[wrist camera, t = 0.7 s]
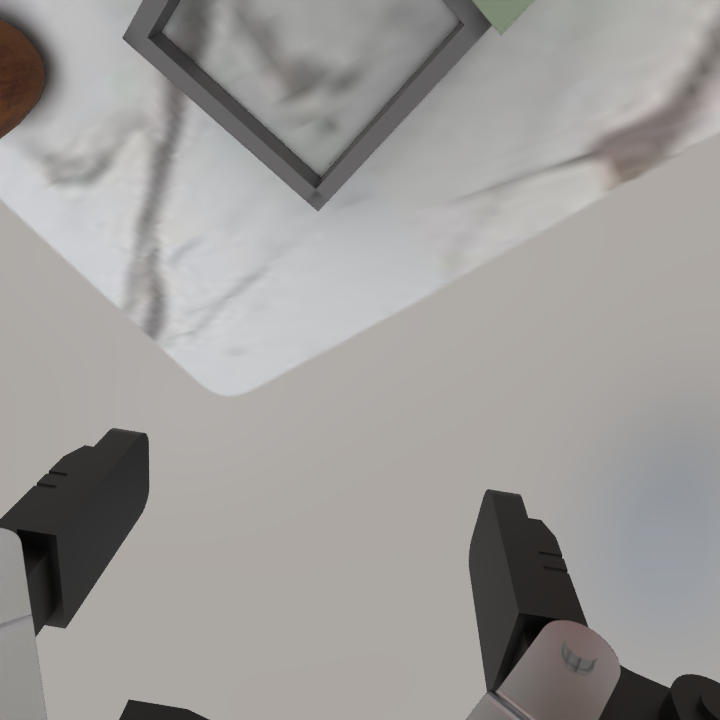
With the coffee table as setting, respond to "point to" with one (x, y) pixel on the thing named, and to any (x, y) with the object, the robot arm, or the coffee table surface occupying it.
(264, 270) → the coffee table surface
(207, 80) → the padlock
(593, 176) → the coffee table surface
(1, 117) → the wooden figurine
